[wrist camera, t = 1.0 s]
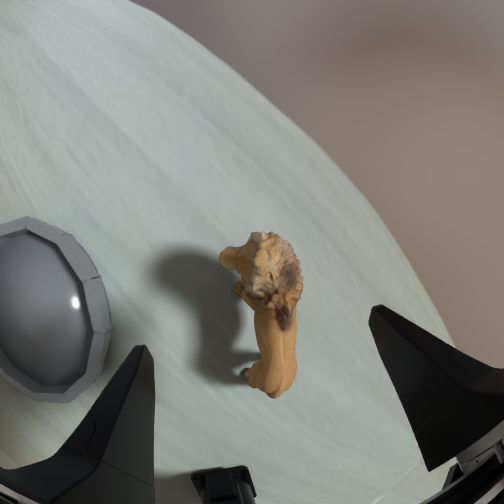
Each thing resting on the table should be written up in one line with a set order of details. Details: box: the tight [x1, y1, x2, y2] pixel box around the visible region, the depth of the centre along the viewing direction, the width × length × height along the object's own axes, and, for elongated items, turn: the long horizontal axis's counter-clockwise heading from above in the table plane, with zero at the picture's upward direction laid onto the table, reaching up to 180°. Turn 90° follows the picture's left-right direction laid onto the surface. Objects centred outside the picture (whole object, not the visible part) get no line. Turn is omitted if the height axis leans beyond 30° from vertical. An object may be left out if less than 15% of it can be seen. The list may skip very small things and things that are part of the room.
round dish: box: [0, 216, 112, 403], centre depth 18 cm, size 17×17×3 cm
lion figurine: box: [219, 232, 304, 398], centre depth 19 cm, size 15×5×9 cm, turn 13°
